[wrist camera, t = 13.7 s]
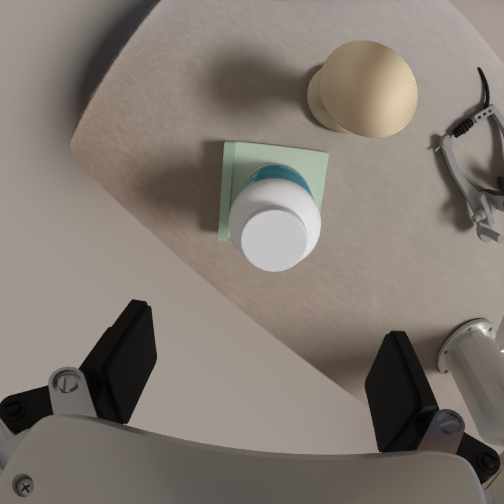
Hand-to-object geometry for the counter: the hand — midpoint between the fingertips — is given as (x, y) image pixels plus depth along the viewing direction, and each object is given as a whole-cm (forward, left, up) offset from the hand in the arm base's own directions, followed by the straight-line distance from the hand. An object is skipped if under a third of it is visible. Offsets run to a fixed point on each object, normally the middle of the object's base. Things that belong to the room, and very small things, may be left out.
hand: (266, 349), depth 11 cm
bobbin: (-6, -12, -26) cm, 29 cm away
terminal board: (0, 0, -26) cm, 26 cm away
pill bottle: (0, 0, -25) cm, 25 cm away
